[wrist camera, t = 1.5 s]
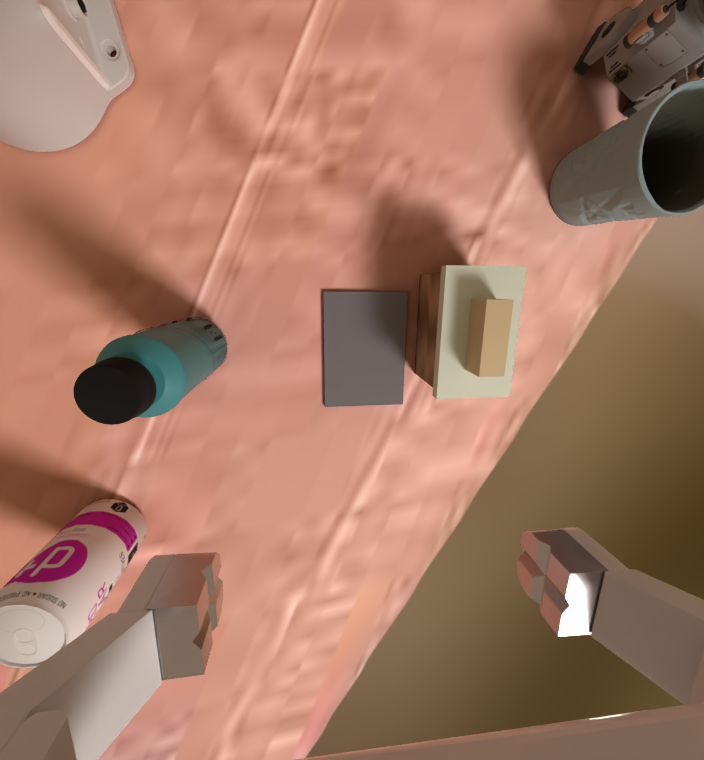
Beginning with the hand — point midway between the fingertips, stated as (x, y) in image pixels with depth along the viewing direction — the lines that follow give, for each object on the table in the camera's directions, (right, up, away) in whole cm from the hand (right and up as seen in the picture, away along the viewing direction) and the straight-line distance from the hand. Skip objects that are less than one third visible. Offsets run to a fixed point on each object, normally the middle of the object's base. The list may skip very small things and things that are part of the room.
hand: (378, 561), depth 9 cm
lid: (+12, +10, +26) cm, 30 cm away
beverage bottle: (-18, +9, +31) cm, 37 cm away
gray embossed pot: (+27, +28, +32) cm, 50 cm away
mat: (+1, +8, +33) cm, 34 cm away
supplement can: (-31, -14, +35) cm, 49 cm away
